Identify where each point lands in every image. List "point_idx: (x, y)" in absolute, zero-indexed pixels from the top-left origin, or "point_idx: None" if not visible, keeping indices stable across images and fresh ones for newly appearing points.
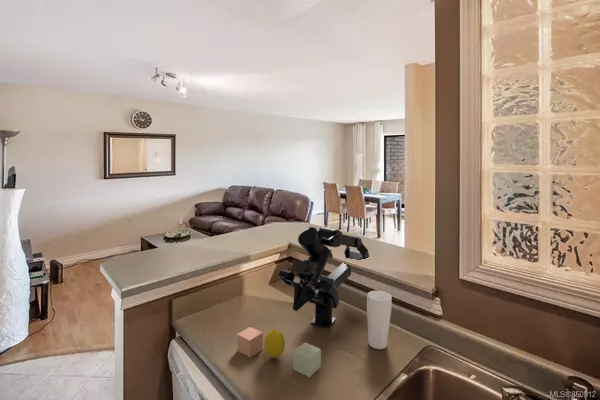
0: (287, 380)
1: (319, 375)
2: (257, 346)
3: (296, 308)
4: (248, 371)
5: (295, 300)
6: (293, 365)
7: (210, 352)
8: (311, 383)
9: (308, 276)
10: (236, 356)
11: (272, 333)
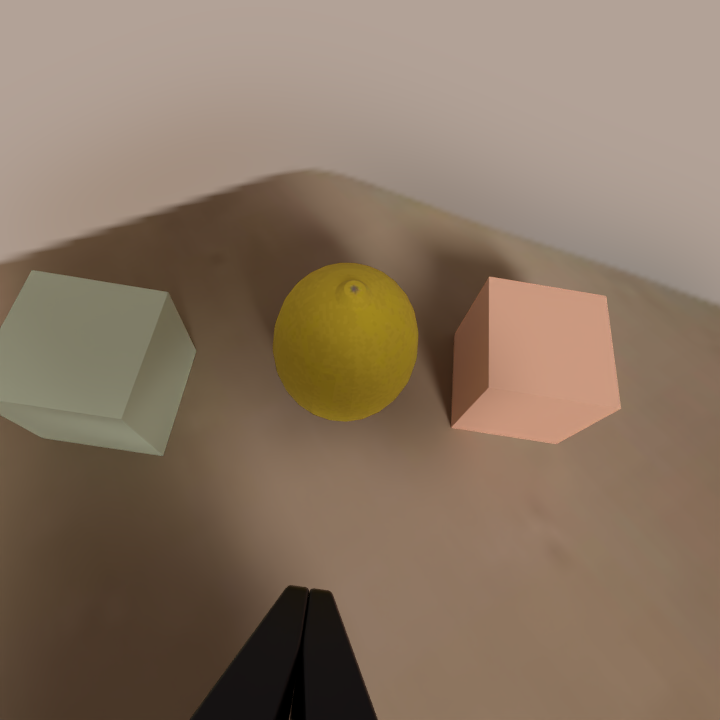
0: (190, 275)
1: None
2: (463, 369)
3: (273, 613)
4: (389, 254)
5: (329, 708)
6: (189, 340)
7: (636, 286)
8: None
9: None
10: None
11: (354, 275)
